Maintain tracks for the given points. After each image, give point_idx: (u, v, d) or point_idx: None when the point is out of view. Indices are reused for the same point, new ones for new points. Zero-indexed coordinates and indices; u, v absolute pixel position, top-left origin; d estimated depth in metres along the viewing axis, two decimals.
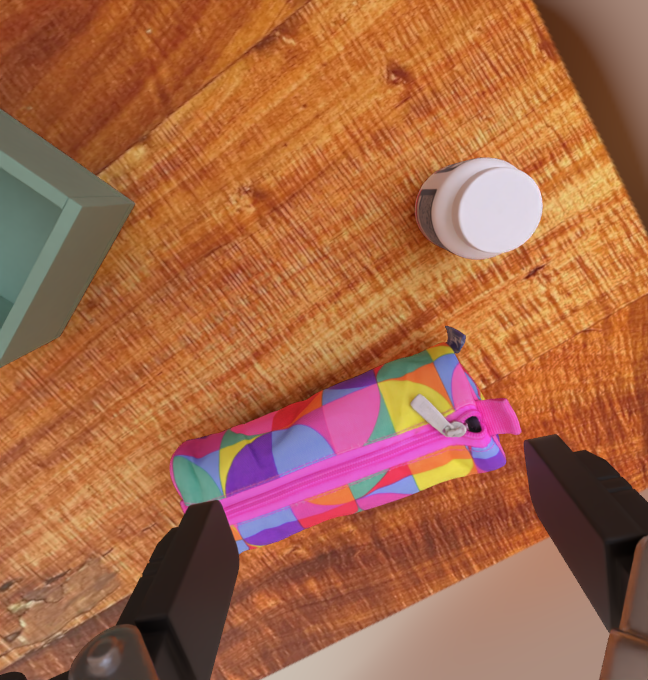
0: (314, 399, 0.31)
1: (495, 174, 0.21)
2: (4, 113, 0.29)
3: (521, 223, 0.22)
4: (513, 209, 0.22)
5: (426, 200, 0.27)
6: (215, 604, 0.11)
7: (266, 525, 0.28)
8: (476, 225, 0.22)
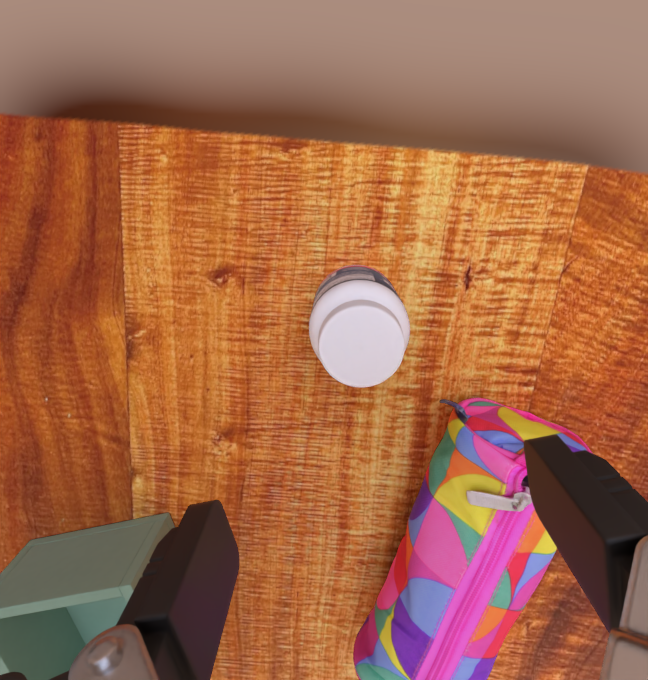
0: (406, 539, 0.30)
1: (327, 332, 0.21)
2: (54, 538, 0.35)
3: (386, 338, 0.21)
4: (368, 337, 0.21)
5: None
6: (215, 604, 0.11)
7: (464, 679, 0.28)
8: (357, 373, 0.21)
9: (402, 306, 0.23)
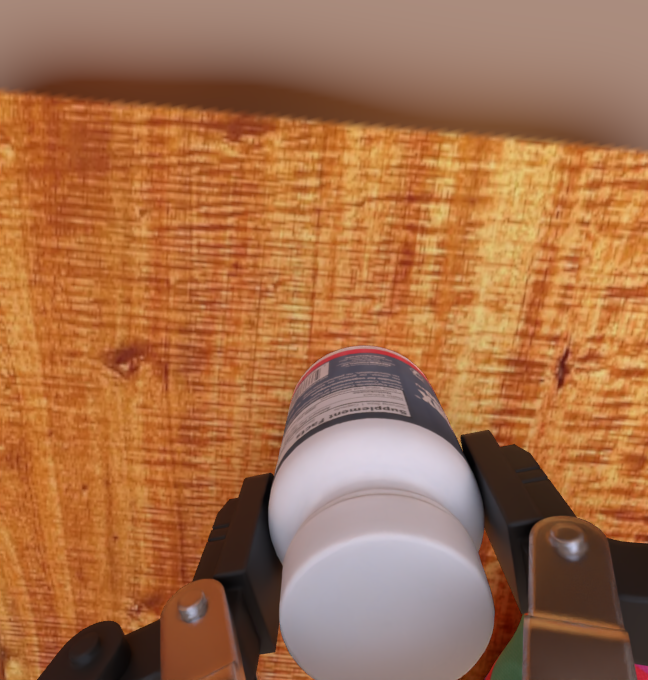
0: None
1: (301, 591, 0.08)
2: None
3: (448, 607, 0.08)
4: (403, 602, 0.08)
5: None
6: (276, 568, 0.11)
7: None
8: (373, 674, 0.09)
9: (471, 479, 0.11)
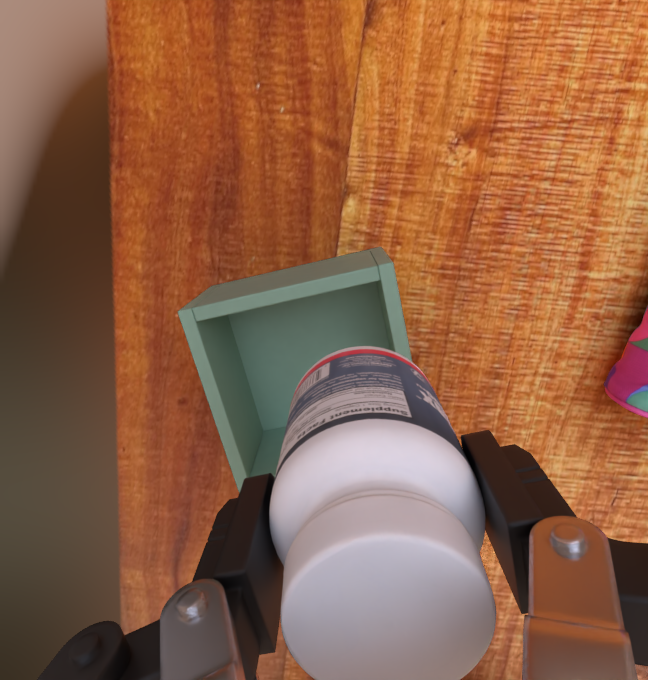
0: None
1: (303, 591, 0.08)
2: (243, 279, 0.30)
3: (450, 607, 0.08)
4: (405, 603, 0.08)
5: None
6: (276, 568, 0.11)
7: None
8: (375, 675, 0.09)
9: (472, 479, 0.11)
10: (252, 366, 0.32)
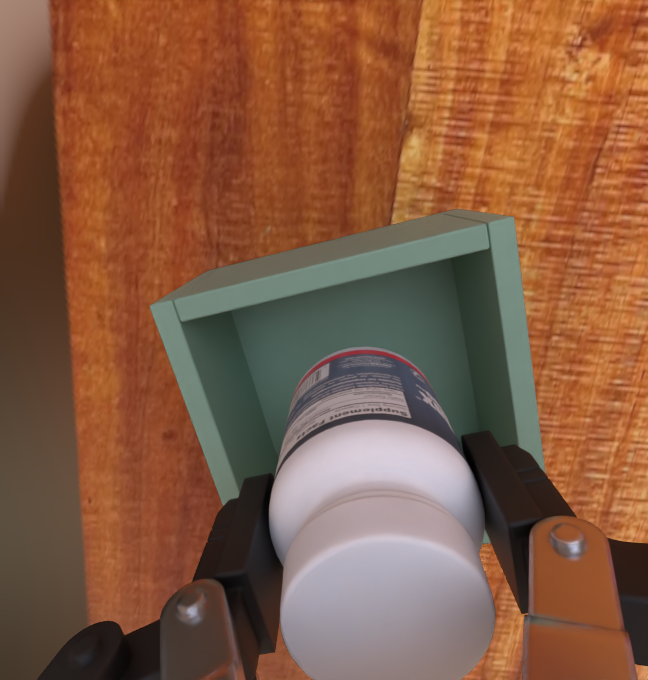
0: None
1: (302, 593, 0.08)
2: (254, 260, 0.21)
3: (449, 608, 0.08)
4: (404, 604, 0.08)
5: None
6: (276, 568, 0.11)
7: None
8: (374, 675, 0.09)
9: (472, 481, 0.11)
10: (268, 385, 0.22)
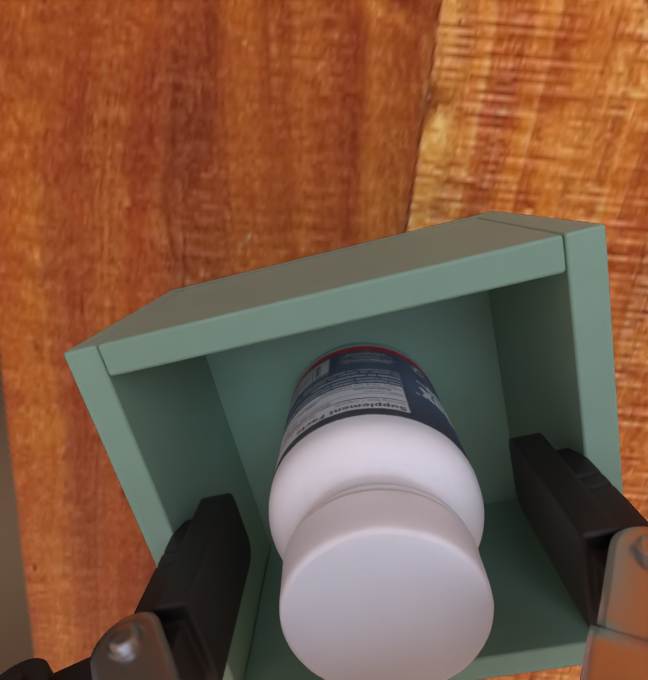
0: None
1: (301, 585, 0.08)
2: (229, 277, 0.16)
3: (448, 601, 0.08)
4: (403, 597, 0.08)
5: None
6: (229, 594, 0.11)
7: None
8: (373, 668, 0.09)
9: (471, 475, 0.11)
10: (249, 435, 0.17)
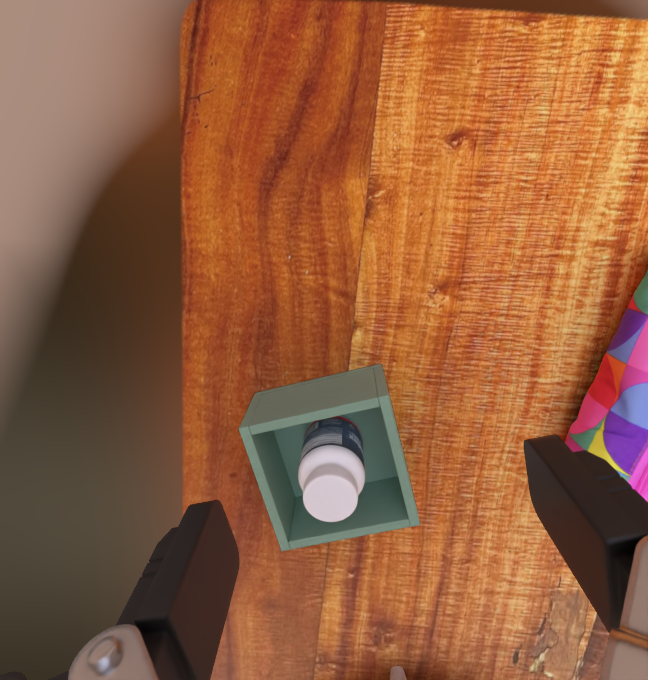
0: (612, 364, 0.35)
1: (308, 490, 0.33)
2: (279, 388, 0.41)
3: (345, 494, 0.33)
4: (334, 493, 0.33)
5: None
6: (215, 603, 0.11)
7: None
8: (327, 514, 0.34)
9: (359, 463, 0.35)
10: (287, 450, 0.42)
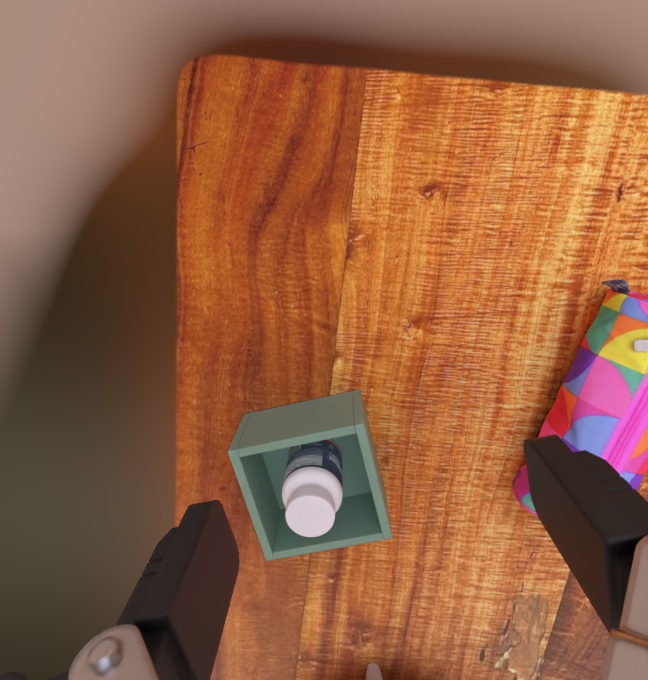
0: (566, 396, 0.39)
1: (290, 508, 0.37)
2: (266, 411, 0.44)
3: (323, 512, 0.37)
4: (313, 511, 0.37)
5: None
6: (215, 604, 0.11)
7: None
8: (307, 529, 0.37)
9: (337, 483, 0.39)
10: (272, 467, 0.46)
